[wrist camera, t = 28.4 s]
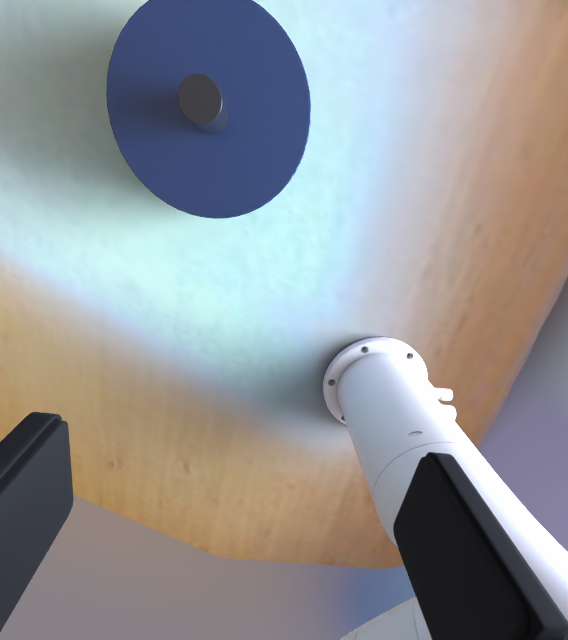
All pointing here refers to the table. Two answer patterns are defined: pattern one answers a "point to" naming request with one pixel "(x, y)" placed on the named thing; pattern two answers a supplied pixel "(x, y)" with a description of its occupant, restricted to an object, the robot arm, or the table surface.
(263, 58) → the pot lid
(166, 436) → the table surface
